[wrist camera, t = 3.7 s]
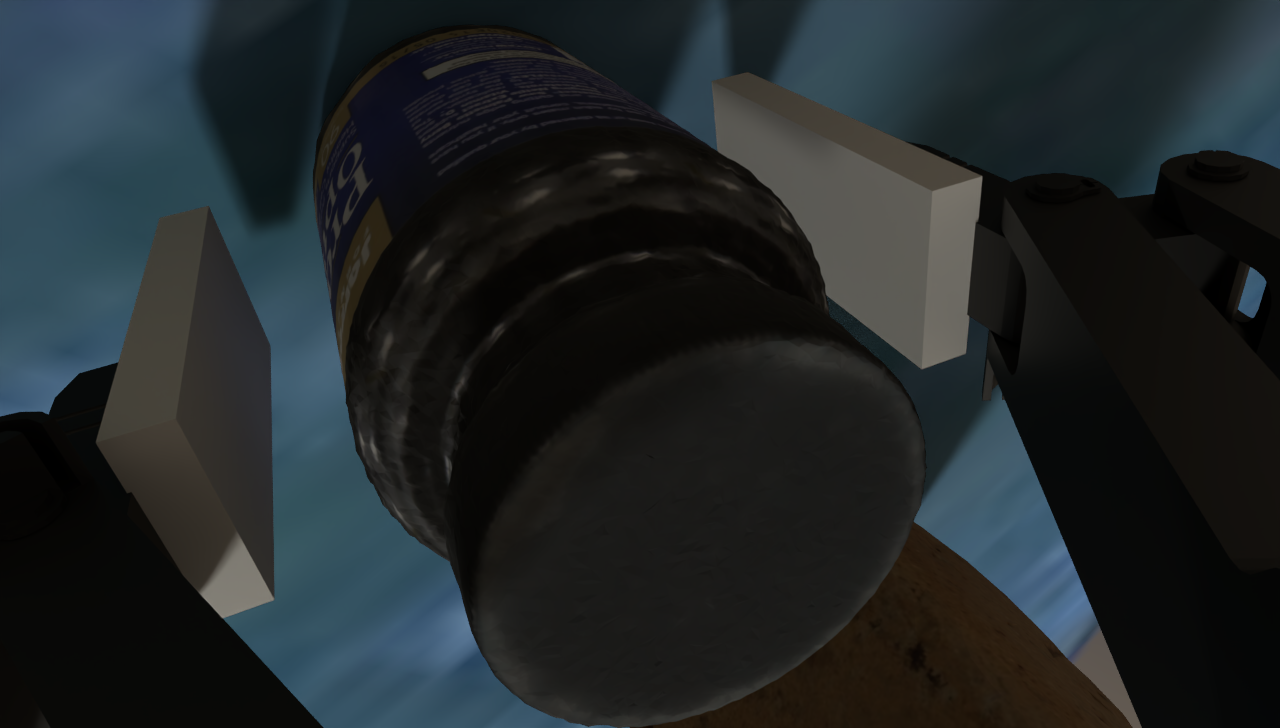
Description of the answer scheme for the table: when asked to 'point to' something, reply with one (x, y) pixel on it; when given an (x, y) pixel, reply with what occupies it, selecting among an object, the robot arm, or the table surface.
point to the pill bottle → (601, 381)
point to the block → (927, 662)
